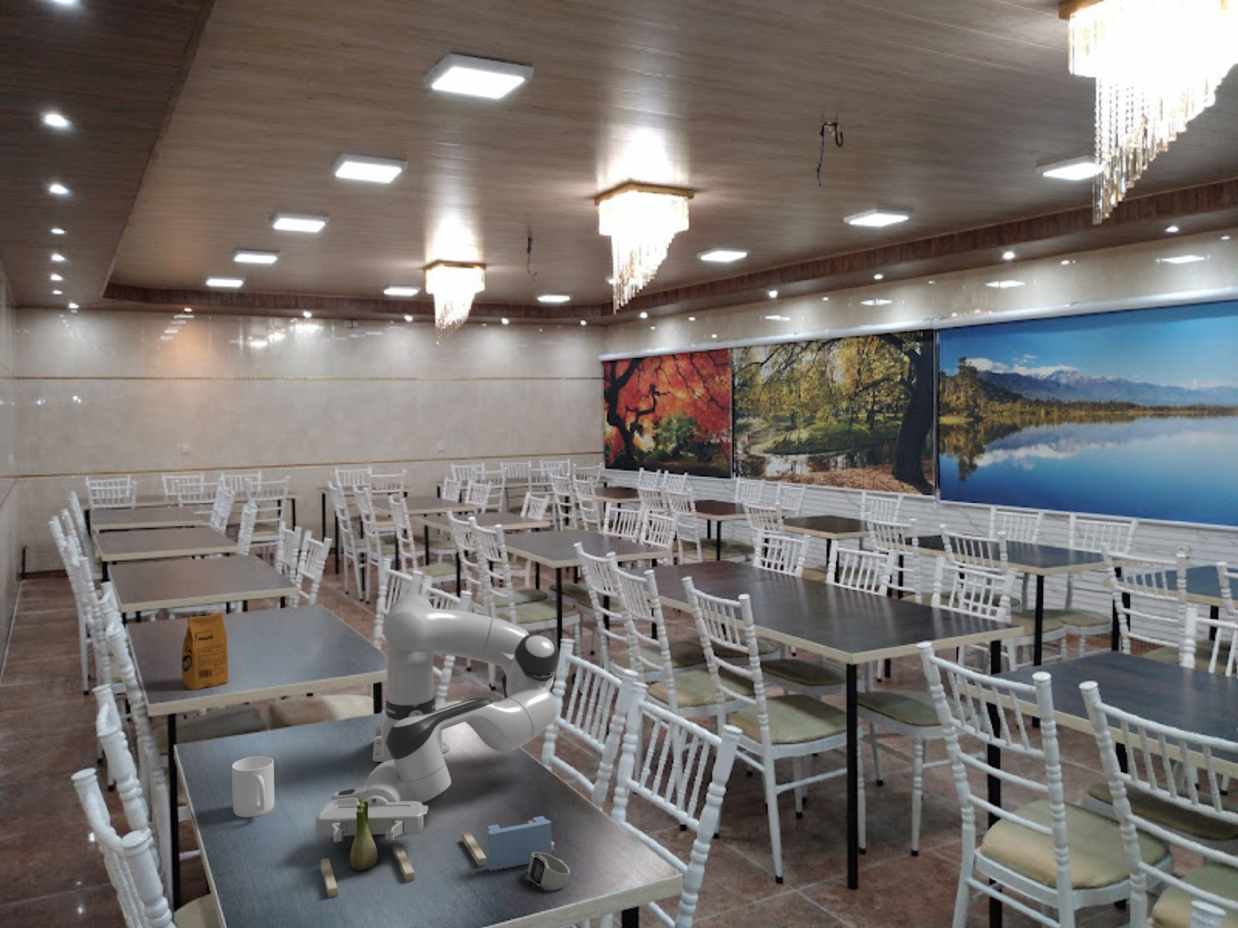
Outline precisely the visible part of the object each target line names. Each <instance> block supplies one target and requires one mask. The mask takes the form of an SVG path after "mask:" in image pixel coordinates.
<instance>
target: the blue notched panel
mask: <svg viewBox="0 0 1238 928" xmlns="http://www.w3.org/2000/svg"><path fill="white" fill-rule="evenodd" d="M532 820H533V823H528V824H527V823H524V824H518V825H511V826H508V827H502V828H501V827H500V825H499V824H493V825H487V826H486V827H487V828H486V830H487V868H488V870H489V871H490V872H493V871H492V870H495V871H498V870H497V869H499V870H502V869H501V868H504V869H508V867H509V868H513V867H518V866H523V865H529V863H530V859H531V855H532V853H534V852H540V853H545V854H548V855H551V856H553V854H552V853H553V852H552V842H553V841H552V822H551V821H550V819H546V818H545V817H544V816H543V815H540V816H536V817H532Z"/></svg>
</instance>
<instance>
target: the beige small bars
mask: <svg viewBox="0 0 1238 928" xmlns="http://www.w3.org/2000/svg"><path fill="white" fill-rule="evenodd" d="M526 822H527V823H526V824H528V823H533V819H532V820H527V821H526ZM461 836H462V837H461V839H462V840H463V841H462V842H463V844H464V843H465V844H464V846H465V845H466V846H467V847H466V846H465V847H466V849H467V848H468V849H467V850H468V852H469V854H470V853H471V854H470V855H471V857H472V856H473V857H474V858H473V857H472V858H473V860H474V859H475V860H474V862H475V861H476V862H475V864H476V865H477V864H478V865H477V866H478V867H479V866H482V867H486V866H485V865H487V866H488V857H487V856H486V855H485V853H484V852H483V850H482V848H481V847H480V846H479V844H478V843H477V841H476V839H475V837H474V836H473V835H472V833H471V831H468V832H462V833H461ZM392 848H393V851H392V853H393V855H395V856H394V858H395V857H396V858H395V860H396V859H397V860H396V862H398V863H397V865H398V866H399V869H400V872H401V873H402V876H403V878H404V880H405V882H406V883H407V882H413V881H415V871H414V868H413V866H412V864H411V862H410V859H409V858H408V855H407V854H406V852H405V850H404V848H403V845H402V844H397V845H394V846H392ZM554 852H555V842H554V841H552V853H554ZM319 864H320V868H319V869H320V871H321V875H322V878H323V883H324V887H325V889H326V894H327V897H328V898H333V897H338V885H337V882H336V879H335V875H334V872H333V868H332V865H331V862H330V859H329V858H323V859H320V860H319Z"/></svg>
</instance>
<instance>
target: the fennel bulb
mask: <svg viewBox="0 0 1238 928" xmlns="http://www.w3.org/2000/svg"><path fill="white" fill-rule="evenodd" d="M356 815H357V833H356V835H354V838H353V840H352V841H353V842H352V846H351V850H350V853H349V866H350V867H351V869H353V870H355V871H361V872H362V871H366V870H368V869H370V868H373V866H375V864H376V863H377V860H378V849H377V846H376V843H375V841H374V839H373V835H371V833H370V830H369V827H368V800H363V801H362V802H361V803H360V804H358V806H357V811H356Z"/></svg>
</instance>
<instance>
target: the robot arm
mask: <svg viewBox="0 0 1238 928" xmlns="http://www.w3.org/2000/svg"><path fill="white" fill-rule="evenodd" d="M382 624H383V625H382V629H383V635H384V638H385V640H386V642H387V644H388V654H387V655H388V656H387V666H386V675H387V676H386V678H387V680H386V681H387V682H386V683H387V699H386V700H385V707H384V708H385V716H384V718H383V720H382V725H381V726H379V725H377V726H375V727H374V728H375V736H376V737H375V738H374V739H373V748H372V749H373V750H372V761H373V762H376V763H379V762H380V764H379V765H377V766H376V767H375V768H374V769H372V770H371V773H369V775H368V776H367V778H366V780H365V782H364V784H363V785H361V786H358V787H355V788H351V789H347V790H342V791H341V790H340V791H336V792H333V794H332V795H331V796H332V797H331V800H330V801H328V802H326V803H325V804H324V805H323V806H322V808H321V809H320V810H319V812H318V813H317V815H316V816H315V834H316V835H317V836H319V837H332V838H333V843H343V841H344V839H345V838H344V836H346V837H347V836H355V835H356V833H357V815H356V811H357V806H358V804H360V803H361V802H362V801H363V800H368V827H369V830H370V833H371V836H374V835H384V836H385V839H384V840H385V841H394V840H395V837H397V836H400V835H401V834H403V835H404V834H418V833H419V832H423V830H424V829H423V828H424V816H426V815H427V814H428V813H429V809H430V808H432V807H434V806H436V805H437V804H439V803H441V802H442V800H443V799H444V798H445V797H446V795H447V794H448V792H449V791H450V789H451V787H452V783H453V782H452V779H451V776H450V773H449V769H448V766H447V763H446V760H445V759H444V756H443V754H444V753H446V752H448V751H450V745H449V744H448V743H446V742H444V738H443V736H444V735H443V734H444V733H443V730H446V729H448V728H451V727H453V726H457V725H460V724H463V723H465V724H467V725H468V726H469V727H470V728H471V729H472V730H473V731H474V732H475V733H476V735H477V736H478V737H479V739H480V741H482V742H483V743H484V744H485V745H486V746H488V747H489V748H491V749H493V750H495V751H497V752H502V753H508V752H512V751H515V750H517V749H519V748H522V747H523V746H524V745H526V744H527V743H529V742H531V741H532V740H533V739H535V738H536V737H537V736H539V735H540V734H541V733H542V732H544V730H546V728H548V727H549V726H550V724H552V723H553V722H554V720H555V719H556V717H557V714H558V703H557V700H556V698H555V696H554V695H553V693H552V692H551V688H552V686H553V684H554V678H555V673H556V670H557V667H558V665H559V659H560V657H559V656H560V655H559V654H560V651H559V646H558V645H557V643H556V642H555V641H554V639H552V638H551V637H550V636H548V635H545V634H541V633H530V634H529V631H527V630H526V629H525V628H522V627H521V626H519V625H517V624H514V623H511V622H508V621H506V620H503V619H499V618H495V617H492V616H488V615H484V614H483V615H482V614H480V613H475V612H471V611H466V610H463V609H462V610H461V609H459V610H458V609H456V610H455V609H445V608H435V607H433V605H432V603H431V602H430V601H429V599H428V598H427V597H425V596H424V595H421V594H418V593H410V594H409V593H408V594H405V595H402V596H401V597H399V598H397V599H396V600H395V601H394V603H392V605H391V608H389V611H388V612H387V614H386V616H385V618H384V620H383V623H382ZM434 654H443V655H450V656H455V657H461V658H464V659H469V660H471V661H472V660H473V661H477V662H482V663H487V664H492V665H495V666H498V667H500V668H501V669H502V670H503V671H504V673H505V674H504V675H503V676H502V677H501V683H502V690H503V691H502V692H503V699H502V700H500V701H493V700H492V699H491V698H490V697H485V696H482V697H475V698H471V699H467V700H464V701H460V702H457V703H453V704H450V705H447V706H444V707H442V708H439V709H436V706H437V703H436V702H437V701H436V697H435V695H434Z"/></svg>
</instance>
